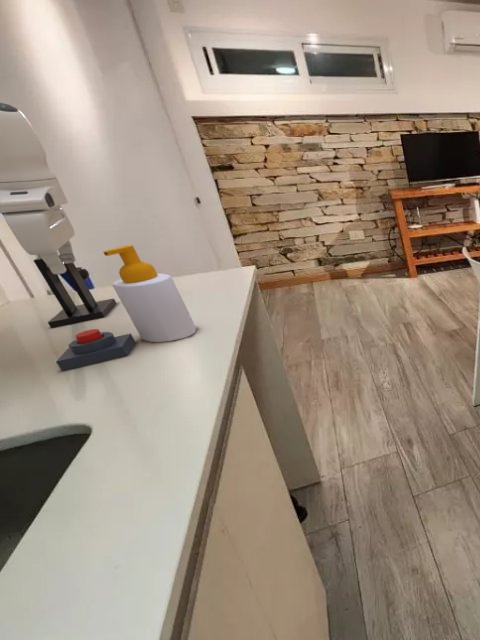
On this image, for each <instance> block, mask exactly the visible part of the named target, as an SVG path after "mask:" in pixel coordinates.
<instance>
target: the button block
mask: <svg viewBox="0 0 480 640" xmlns="http://www.w3.org/2000/svg"><path fill="white" fill-rule="evenodd" d="M100 333H101V334H102V336H103V337H102V338H100V339H98V340H95V341H92V342H88V343H83V344H79V342H78V340H77V339H74V340H72V341H70V343H68V345H67V346H68V347H67V349H66V350H65V351H64V352H63V353H62V354H61V355H60V356H59V358H57V360H56V361H55V363H56V364H57V366H58V368H59V369H60V371H61V372H64V371H69V370H73V369H77V368H81V367H86V366H90V365H94V364H99V363H103V362H107V361H111V360H116V359H120V358H123V357H127V356H128V355H129V354H130V352H131V351H132V349H133V347H134V346H135V344H136V340H135V338H134V336H133V334H132V333H125V334H122V335H117V336H115V335H114V334H113V332H110V331H102V332H101V331H100Z"/></svg>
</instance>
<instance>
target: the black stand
mask: <svg viewBox="0 0 480 640" xmlns="http://www.w3.org/2000/svg"><path fill="white" fill-rule="evenodd" d="M58 256H59V258H60V254H59V255H58ZM60 260H61V258H60ZM61 261H62V260H61ZM33 263H34V264H35V265H36V268H37V269H38V271H39V272H40V274H41V275H42V277H43V279H44V280H45V283H46V284H47V285H48V287H49V289H50V291H51V292H52V293H53V295H54V297H55V298H56V300H57V301H58V303H59V305H60V306H61V308H62V309H61V311H59V312H58V313H57V314H56V315H55V316H53V318H51V319H50V320H48V321H47V324H48V326H49V327H50V328H51V329H53V328H57V327H58V328H59V327H63V326H68V325H73V324H78V323H84V322H88V321H92V320H97V319H98V320H99V319H103V318H106V317H107V315H108V314H109V313H110V311H111V310H112V309H113V308H114V307H115V306H116V305H117V301H116V300H115V298H109V299H104V300H99V301H96V299H95V297H94V296H93V294H92V293H91V291H90V288H89V287H88V285H87V284H86V282H85V280H83V278H82V277H81V275H80V273H79V271H78V270H77V268H76V264H75V262H74V263H69V264H64V265H65V267H66V269H67V270H66V272H65V273H64V274H65V275H66V276H67V279H68V280H69V282H70V283H71V285H72V287H73V289H74V290H75V292H76V293H77V295H78V297H79V298H80V300H81V302H82V304H78V305H76V303H75V302H74V301H73V299H72V296H71V295H70V294H69V292H68V290H67V289H66V287H65V285H64V284H63V282H62V280H61V279H60V277H59V274H53V273H52V272H51V270H50V268H48V267H47V265H46V263H45V262H44V260H43V259H42V258H41V256H40V255H39V257H37V258H35V259H33ZM62 263H63V262H62Z"/></svg>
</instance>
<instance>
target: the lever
mask: <svg viewBox="0 0 480 640" xmlns="http://www.w3.org/2000/svg"><path fill="white" fill-rule="evenodd" d="M46 265H47V264H46ZM47 267H48V268H49V266H48V265H47ZM76 268H77V270H78V271H79V273H80V275H81V277H82V278H83V280H84V281H86V280H88V278H90V272H89V271H88V270H87V269H86V268H83V267H80V266H77V267H76Z"/></svg>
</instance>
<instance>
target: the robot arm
mask: <svg viewBox="0 0 480 640" xmlns="http://www.w3.org/2000/svg"><path fill="white" fill-rule="evenodd" d="M68 203H69V201H68V199H67V197H66V194H65V193H64V191H63V188H62V186H61V184H60V181H59V179H58V177H57V175H56V174H55V173H54V172H53V170H52V169H51V168H50V166H49V164H48V161H47V153H46V151H45V149H44V147H43V144H42V142H41V139H40V138H39V136H38V134H37V133H36V131H35V129H34V128H33V126H32V124H31V123H30V121H29V120H28V118H27V117H26V116H25V114H24V113H23V112H22V111H20V109H19V108H18V107H15V106H13V105H11V104H7V103H3V102H0V214H3V218H4V220H5V222H6V224H7V226H8V228H9V229H10V230H11V233H12V234H13V236H14V237H15V239H16V241H17V242H18V243H19V245H20V246H21V248H22V249H23V250H24V251H25V253H27V254H28V255H30V256H36V255H37V256H38V255H39V257H40V256H41V258H42V259H43V260H44V262H45V263H46V264H47V265H48V266H49V268H50V270H51V272H52V273H53V274H57V275H62V274H66V273H65V272H66V270H67V269H66V267H65V265H64V264H69V263H74V264H75V262H76V261H77V259H76V255H75V254H74V250H73V246H72V245H73V244H72V243H71V241H70V240H71V239H72V238H73V237H74V236H75V235H76V234H75V229H74V227H73V225H72V222H71V221H70V218H69V217H68V215H67V213H66V211H65V210H64V208H63V205H66V204H68ZM58 255H60V258H61V260H62V261H61V260H60V258H59V256H58ZM62 262H63V263H62Z"/></svg>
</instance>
